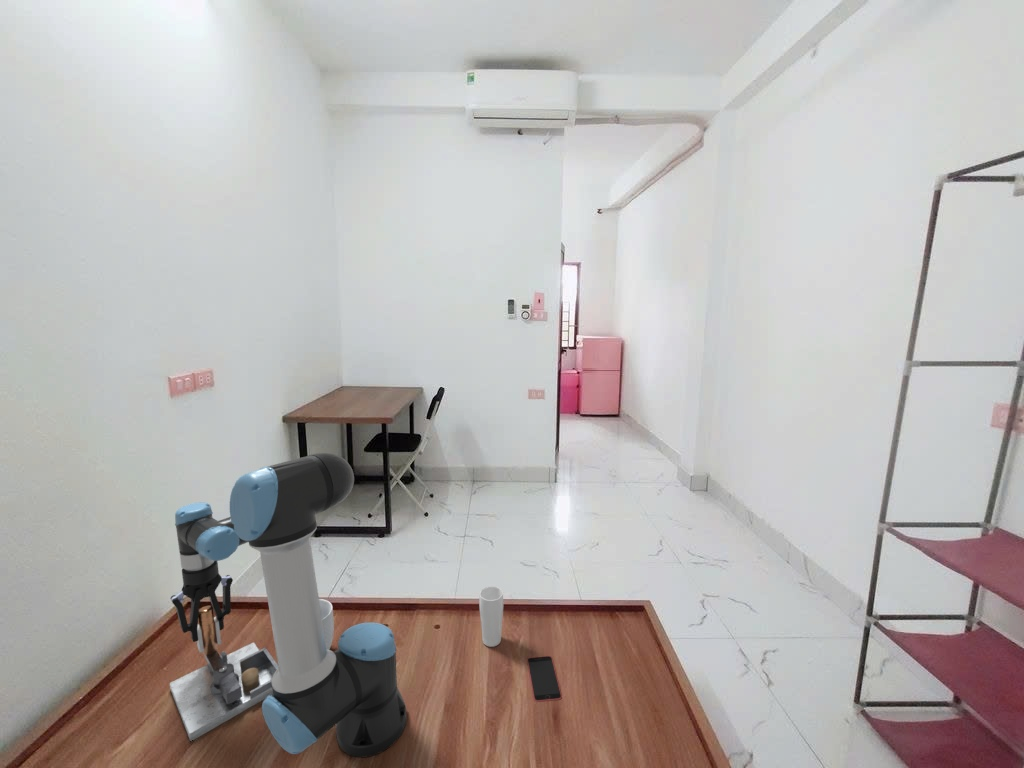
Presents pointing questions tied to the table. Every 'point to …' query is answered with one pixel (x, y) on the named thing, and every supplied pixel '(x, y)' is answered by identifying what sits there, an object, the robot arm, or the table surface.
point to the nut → (250, 679)
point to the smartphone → (543, 679)
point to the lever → (217, 658)
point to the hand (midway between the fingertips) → (209, 645)
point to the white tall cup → (491, 615)
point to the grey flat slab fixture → (207, 704)
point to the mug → (327, 621)
